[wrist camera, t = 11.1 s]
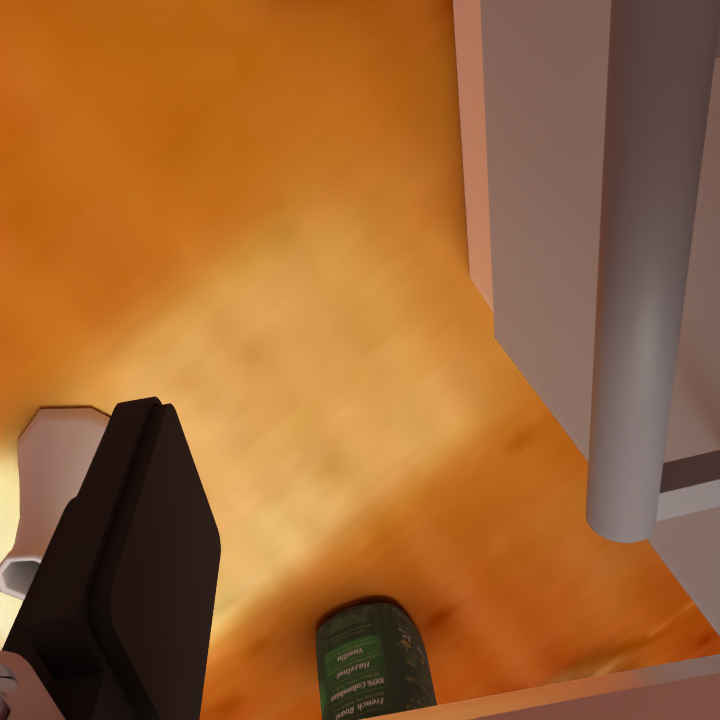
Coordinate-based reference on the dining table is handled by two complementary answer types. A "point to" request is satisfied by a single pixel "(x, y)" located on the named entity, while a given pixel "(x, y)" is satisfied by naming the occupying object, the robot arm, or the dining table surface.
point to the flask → (48, 485)
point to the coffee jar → (371, 664)
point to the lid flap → (615, 253)
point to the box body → (474, 142)
